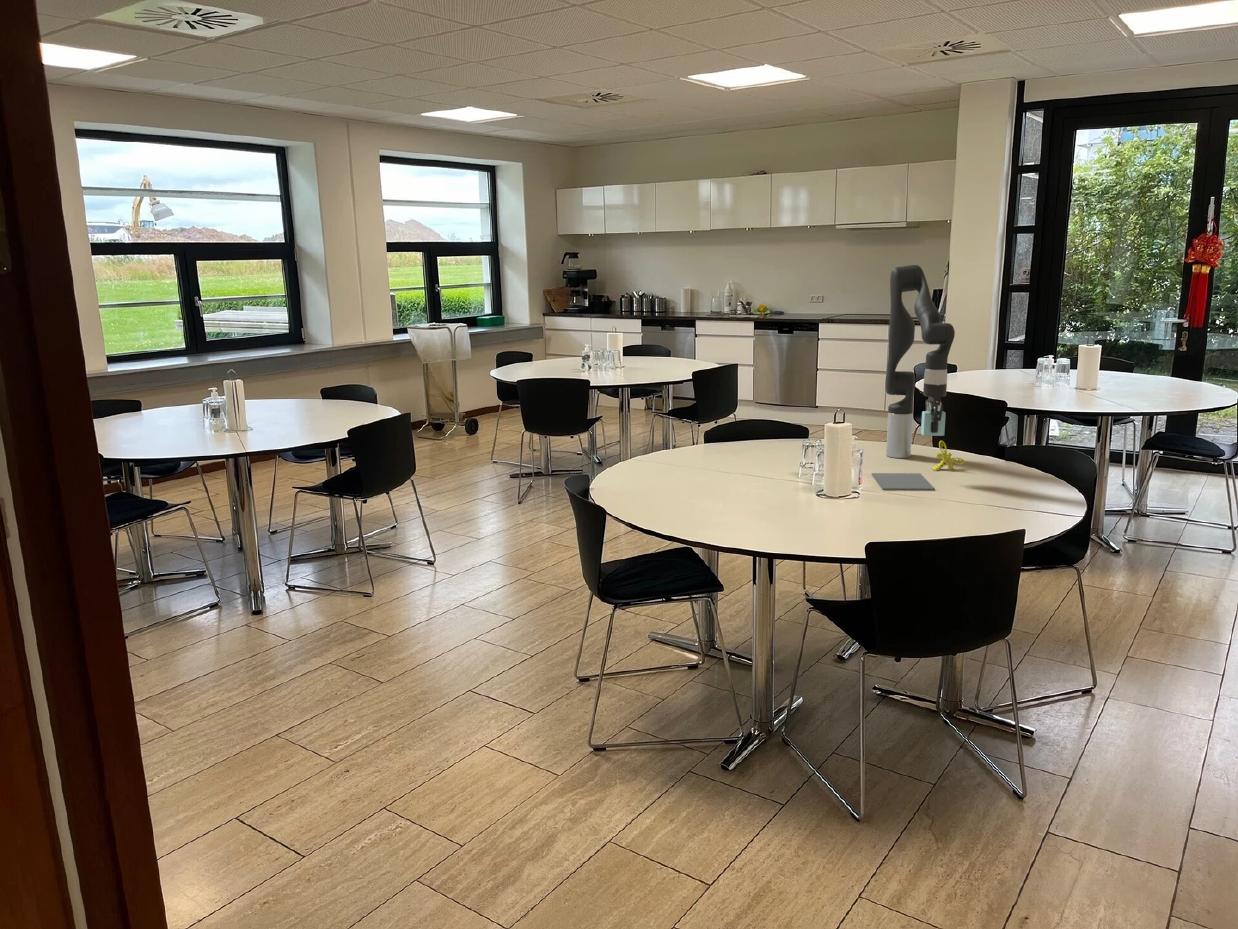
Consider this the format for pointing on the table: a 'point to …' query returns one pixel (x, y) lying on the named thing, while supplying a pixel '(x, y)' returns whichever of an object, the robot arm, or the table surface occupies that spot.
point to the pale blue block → (927, 424)
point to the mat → (902, 481)
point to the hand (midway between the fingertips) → (932, 431)
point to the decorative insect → (946, 458)
